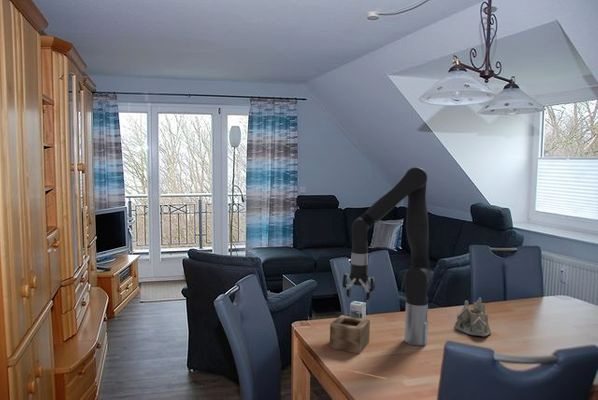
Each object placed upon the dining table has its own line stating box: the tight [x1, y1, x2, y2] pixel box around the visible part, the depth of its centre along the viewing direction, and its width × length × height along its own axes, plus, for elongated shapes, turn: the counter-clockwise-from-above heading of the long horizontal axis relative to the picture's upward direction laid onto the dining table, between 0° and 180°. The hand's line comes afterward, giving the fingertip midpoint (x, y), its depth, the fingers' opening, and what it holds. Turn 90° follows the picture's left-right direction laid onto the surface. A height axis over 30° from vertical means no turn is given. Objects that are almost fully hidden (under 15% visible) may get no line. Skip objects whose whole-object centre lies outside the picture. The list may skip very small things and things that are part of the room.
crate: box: [329, 314, 371, 355], centre depth 189 cm, size 13×13×10 cm
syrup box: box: [349, 300, 367, 319], centre depth 201 cm, size 6×6×14 cm
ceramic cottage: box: [454, 297, 492, 337], centre depth 208 cm, size 16×16×15 cm
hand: (358, 298), depth 201 cm, fingers open, 8 cm apart
